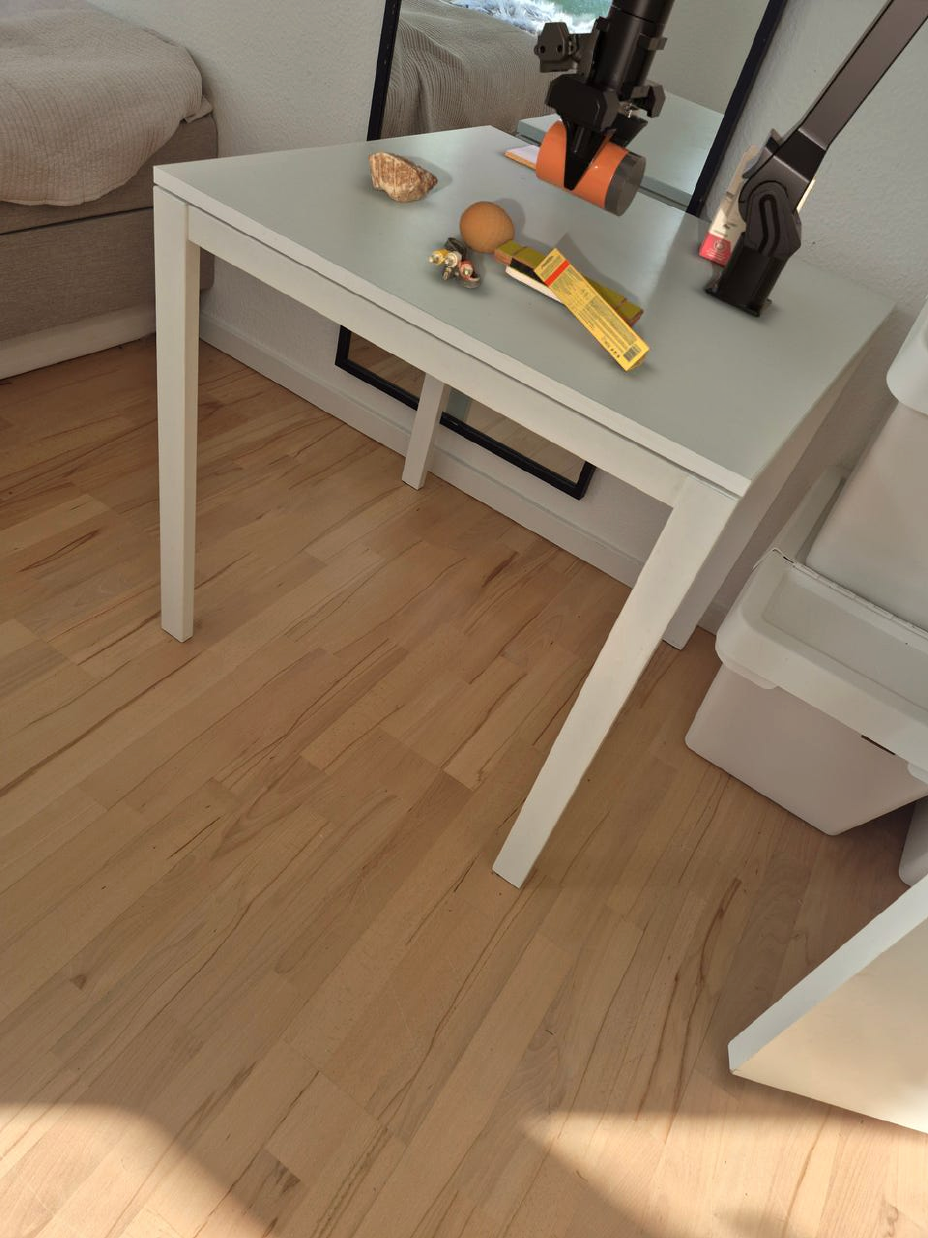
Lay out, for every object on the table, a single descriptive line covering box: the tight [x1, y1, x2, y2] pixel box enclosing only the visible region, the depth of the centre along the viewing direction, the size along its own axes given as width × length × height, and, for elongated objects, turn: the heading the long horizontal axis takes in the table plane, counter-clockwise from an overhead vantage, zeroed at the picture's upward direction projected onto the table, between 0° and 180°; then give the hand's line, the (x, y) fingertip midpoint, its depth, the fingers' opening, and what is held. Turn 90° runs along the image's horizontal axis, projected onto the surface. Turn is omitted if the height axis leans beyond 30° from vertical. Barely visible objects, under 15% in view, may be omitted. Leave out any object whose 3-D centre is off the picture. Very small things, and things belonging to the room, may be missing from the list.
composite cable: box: [428, 236, 481, 289], centre depth 75 cm, size 10×5×2 cm, turn 169°
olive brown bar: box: [492, 240, 645, 329], centre depth 76 cm, size 15×3×2 cm, turn 60°
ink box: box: [698, 144, 818, 267], centre depth 97 cm, size 9×5×12 cm, turn 68°
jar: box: [535, 118, 647, 218], centre depth 88 cm, size 10×6×6 cm, turn 59°
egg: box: [459, 200, 516, 254], centre depth 79 cm, size 4×4×6 cm
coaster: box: [504, 144, 540, 171], centre depth 110 cm, size 8×8×1 cm
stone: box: [367, 151, 439, 204], centre depth 84 cm, size 7×6×5 cm
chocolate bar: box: [534, 247, 651, 372], centre depth 71 cm, size 3×12×2 cm
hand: (579, 185), depth 89 cm, fingers closed on jar, 6 cm apart
